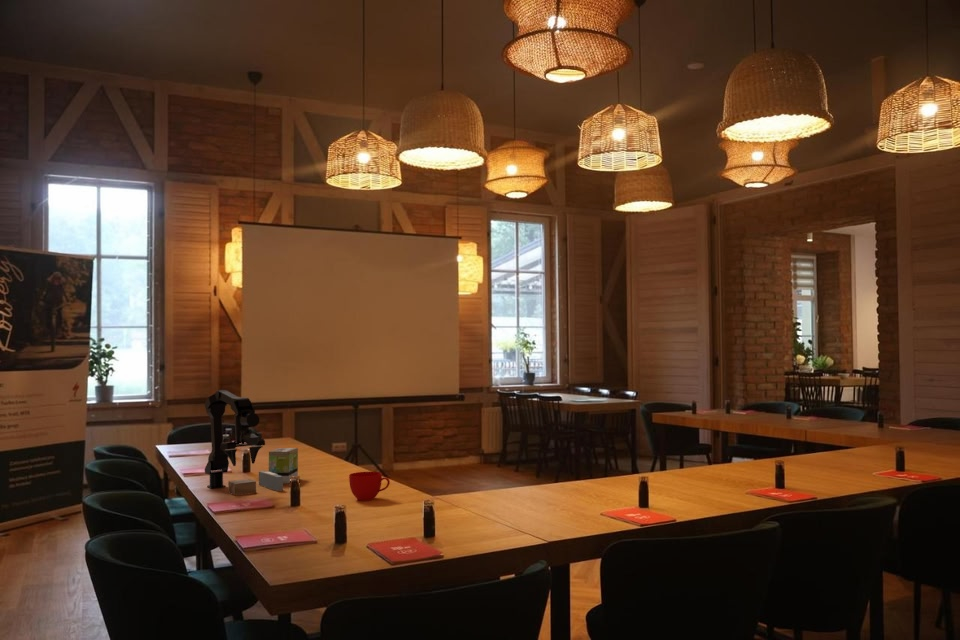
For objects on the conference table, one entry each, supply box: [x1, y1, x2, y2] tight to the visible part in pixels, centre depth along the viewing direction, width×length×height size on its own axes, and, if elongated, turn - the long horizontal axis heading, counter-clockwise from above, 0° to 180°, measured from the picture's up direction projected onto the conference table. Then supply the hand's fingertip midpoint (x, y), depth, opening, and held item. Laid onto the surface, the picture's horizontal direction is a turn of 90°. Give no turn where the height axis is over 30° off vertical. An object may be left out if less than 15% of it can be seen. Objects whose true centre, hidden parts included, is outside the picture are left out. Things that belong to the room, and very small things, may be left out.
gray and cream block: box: [258, 470, 284, 492], centre depth 337 cm, size 22×3×6 cm, turn 37°
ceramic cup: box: [348, 471, 391, 502], centre depth 303 cm, size 13×17×10 cm
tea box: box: [268, 447, 299, 484], centre depth 354 cm, size 15×10×15 cm, turn 179°
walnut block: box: [227, 478, 257, 496], centre depth 326 cm, size 9×9×5 cm
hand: (244, 464), depth 322 cm, fingers open, 9 cm apart
